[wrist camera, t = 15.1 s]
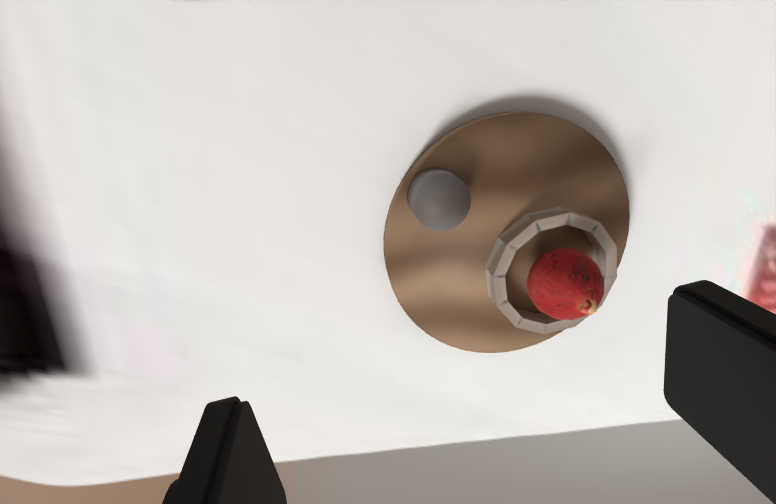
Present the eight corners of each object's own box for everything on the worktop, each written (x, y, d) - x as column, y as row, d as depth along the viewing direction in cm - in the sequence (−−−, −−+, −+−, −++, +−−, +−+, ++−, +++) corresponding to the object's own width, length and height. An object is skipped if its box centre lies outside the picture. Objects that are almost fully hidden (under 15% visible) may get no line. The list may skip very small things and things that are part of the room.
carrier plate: (358, 143, 35) (363, 151, 31) (619, 86, 36) (657, 86, 32) (407, 367, 43) (416, 397, 39) (618, 314, 44) (649, 338, 40)
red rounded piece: (522, 232, 38) (569, 267, 31) (582, 239, 39) (642, 275, 32) (505, 292, 40) (546, 339, 33) (563, 298, 41) (615, 345, 34)
